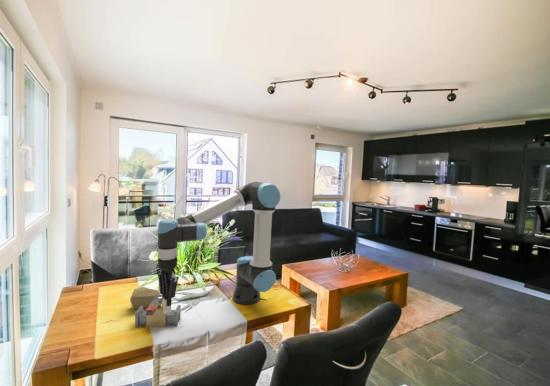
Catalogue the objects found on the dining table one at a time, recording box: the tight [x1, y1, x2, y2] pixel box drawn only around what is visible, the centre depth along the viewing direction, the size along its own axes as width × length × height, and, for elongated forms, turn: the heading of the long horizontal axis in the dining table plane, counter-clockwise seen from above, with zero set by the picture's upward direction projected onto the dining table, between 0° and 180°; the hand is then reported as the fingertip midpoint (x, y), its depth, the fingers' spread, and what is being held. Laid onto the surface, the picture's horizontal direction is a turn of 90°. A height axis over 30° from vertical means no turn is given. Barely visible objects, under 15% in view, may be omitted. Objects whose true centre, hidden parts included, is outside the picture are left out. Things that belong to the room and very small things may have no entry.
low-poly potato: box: [129, 286, 161, 310], centre depth 139 cm, size 15×11×12 cm
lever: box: [145, 294, 163, 316], centre depth 120 cm, size 14×5×2 cm, turn 6°
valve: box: [134, 303, 182, 328], centre depth 126 cm, size 18×7×10 cm, turn 96°
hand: (167, 312), depth 116 cm, fingers closed
